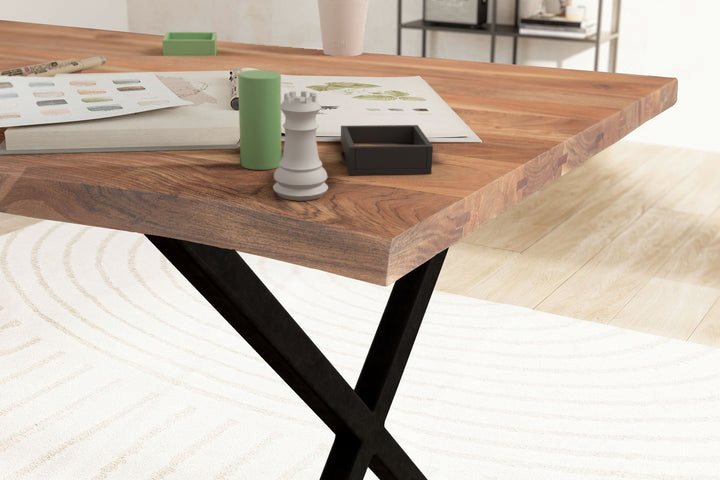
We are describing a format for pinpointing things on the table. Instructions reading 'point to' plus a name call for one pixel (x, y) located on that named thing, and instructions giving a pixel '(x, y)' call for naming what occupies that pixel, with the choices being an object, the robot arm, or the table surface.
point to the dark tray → (386, 150)
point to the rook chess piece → (300, 150)
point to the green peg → (260, 119)
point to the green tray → (190, 44)
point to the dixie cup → (343, 26)
